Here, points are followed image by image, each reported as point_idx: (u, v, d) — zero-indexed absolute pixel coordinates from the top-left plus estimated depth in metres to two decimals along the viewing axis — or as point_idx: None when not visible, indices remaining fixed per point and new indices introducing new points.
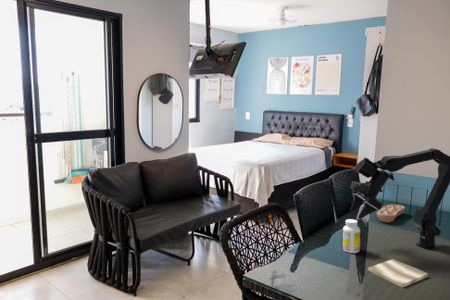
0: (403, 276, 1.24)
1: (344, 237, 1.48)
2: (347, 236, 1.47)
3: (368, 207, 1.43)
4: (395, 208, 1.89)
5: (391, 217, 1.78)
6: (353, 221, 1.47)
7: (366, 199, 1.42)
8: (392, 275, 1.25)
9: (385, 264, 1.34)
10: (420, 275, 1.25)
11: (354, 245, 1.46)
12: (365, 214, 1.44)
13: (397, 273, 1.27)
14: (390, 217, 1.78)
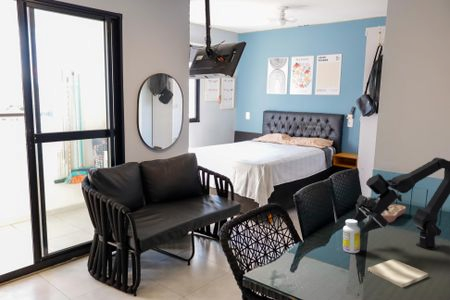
0: (403, 276, 1.24)
1: (344, 237, 1.48)
2: (347, 236, 1.47)
3: (373, 223, 1.43)
4: (396, 208, 1.89)
5: (392, 217, 1.77)
6: (353, 221, 1.47)
7: (373, 214, 1.41)
8: (392, 275, 1.25)
9: (385, 264, 1.34)
10: (420, 275, 1.25)
11: (354, 245, 1.46)
12: (368, 229, 1.43)
13: (397, 273, 1.27)
14: (391, 217, 1.77)
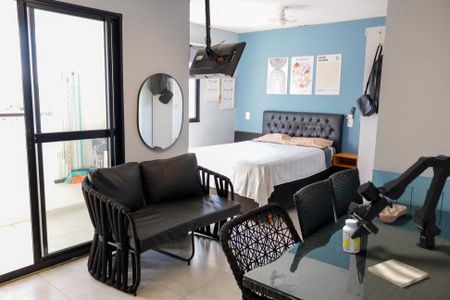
0: (403, 276, 1.24)
1: (344, 237, 1.48)
2: (347, 236, 1.47)
3: (362, 229, 1.44)
4: (397, 208, 1.88)
5: (392, 217, 1.77)
6: (353, 221, 1.47)
7: (364, 222, 1.41)
8: (392, 275, 1.25)
9: (385, 264, 1.34)
10: (420, 275, 1.25)
11: (354, 245, 1.46)
12: (358, 236, 1.44)
13: (397, 273, 1.27)
14: (391, 217, 1.77)
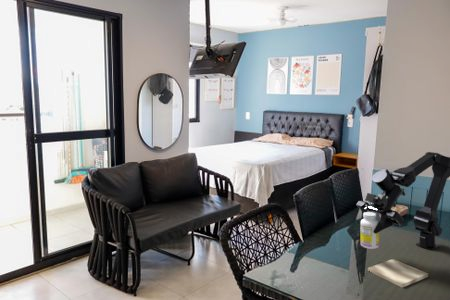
0: (403, 276, 1.24)
1: (364, 232, 1.35)
2: (369, 231, 1.34)
3: (385, 221, 1.33)
4: (398, 209, 1.88)
5: None
6: (372, 214, 1.35)
7: (389, 213, 1.30)
8: (392, 275, 1.25)
9: (385, 264, 1.34)
10: (420, 275, 1.25)
11: (375, 240, 1.34)
12: (381, 229, 1.33)
13: (397, 273, 1.27)
14: None
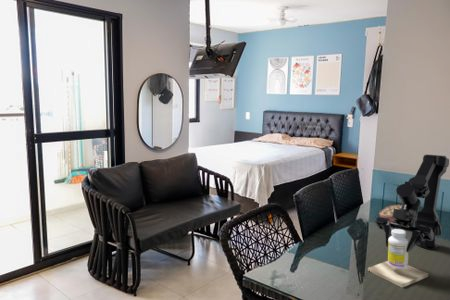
0: (403, 276, 1.24)
1: (396, 252, 1.25)
2: (401, 250, 1.24)
3: (415, 238, 1.26)
4: None
5: (394, 218, 1.77)
6: (401, 231, 1.26)
7: (422, 229, 1.23)
8: (392, 275, 1.25)
9: (385, 264, 1.34)
10: (420, 275, 1.25)
11: (407, 259, 1.25)
12: (412, 246, 1.25)
13: (397, 273, 1.27)
14: (393, 218, 1.76)
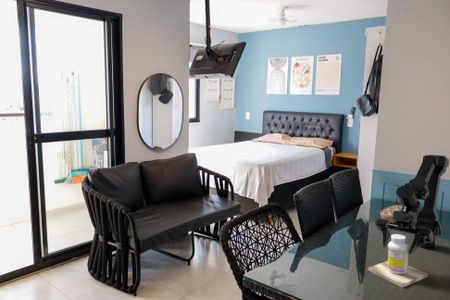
0: (403, 276, 1.24)
1: (396, 257, 1.25)
2: (401, 255, 1.24)
3: None
4: (399, 209, 1.87)
5: None
6: (401, 236, 1.27)
7: (422, 231, 1.23)
8: (392, 275, 1.25)
9: (385, 264, 1.34)
10: (420, 275, 1.25)
11: (407, 264, 1.26)
12: (415, 248, 1.24)
13: None
14: None
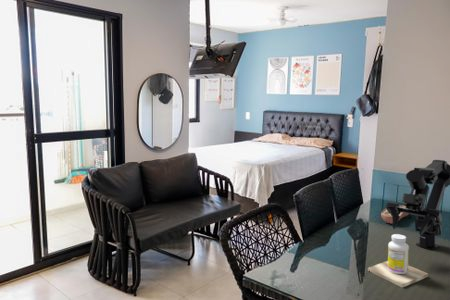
0: (403, 276, 1.24)
1: (396, 257, 1.25)
2: (401, 255, 1.24)
3: (427, 221, 1.31)
4: None
5: None
6: (401, 236, 1.27)
7: (431, 212, 1.29)
8: (392, 275, 1.25)
9: (385, 264, 1.34)
10: (420, 275, 1.25)
11: (407, 264, 1.26)
12: (425, 229, 1.30)
13: None
14: None
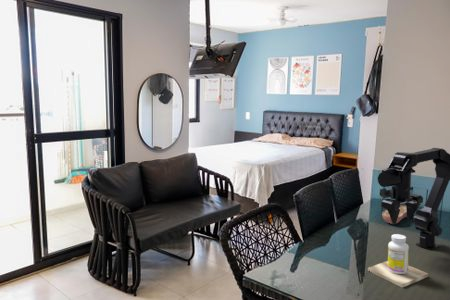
0: (403, 276, 1.24)
1: (396, 257, 1.25)
2: (401, 255, 1.24)
3: (392, 210, 1.41)
4: (402, 209, 1.86)
5: None
6: (401, 236, 1.27)
7: None
8: (392, 275, 1.25)
9: (385, 264, 1.34)
10: (420, 275, 1.25)
11: (407, 264, 1.26)
12: (394, 218, 1.41)
13: None
14: None
